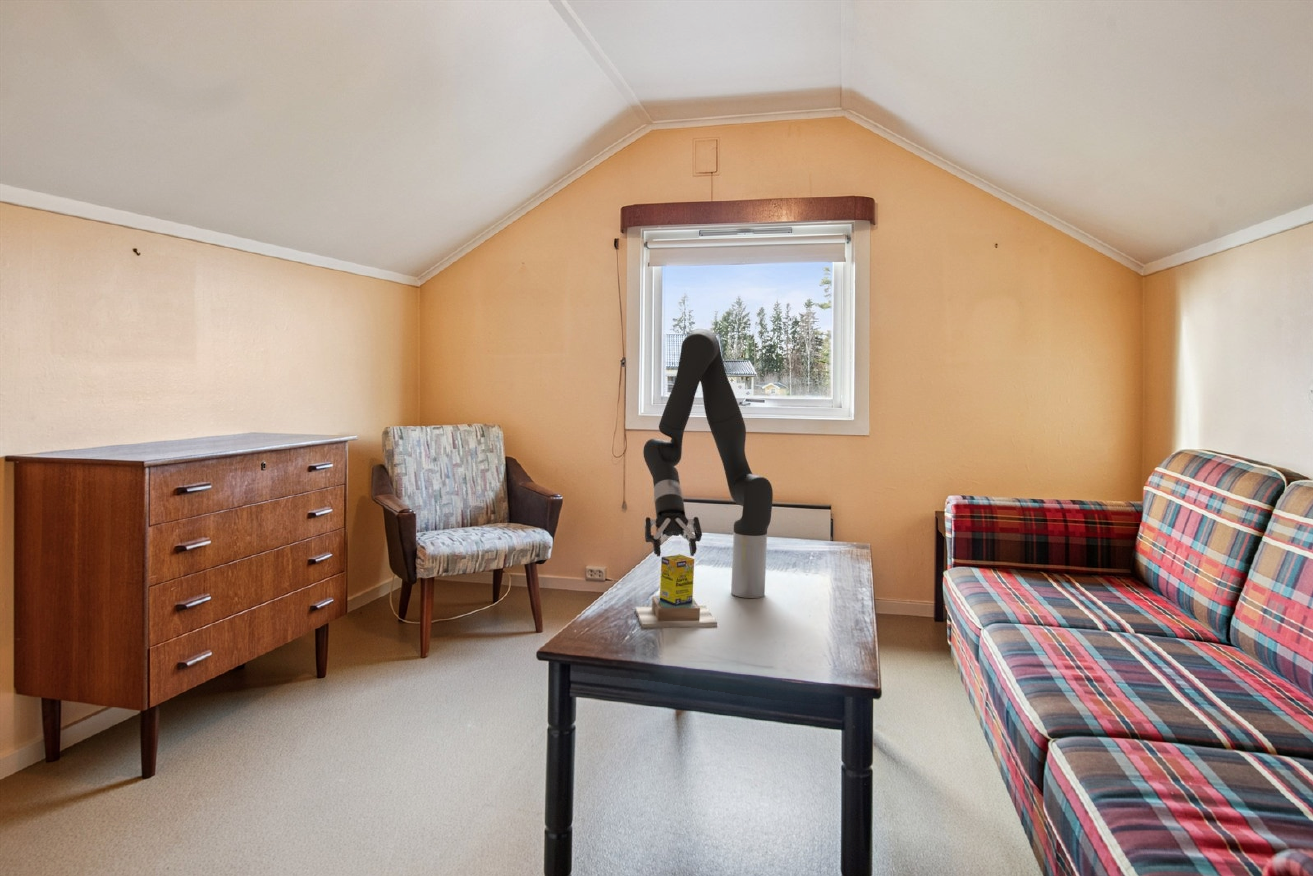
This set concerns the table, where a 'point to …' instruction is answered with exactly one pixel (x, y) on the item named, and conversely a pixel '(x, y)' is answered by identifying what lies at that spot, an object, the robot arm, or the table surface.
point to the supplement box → (677, 579)
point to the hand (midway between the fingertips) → (676, 554)
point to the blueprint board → (654, 623)
